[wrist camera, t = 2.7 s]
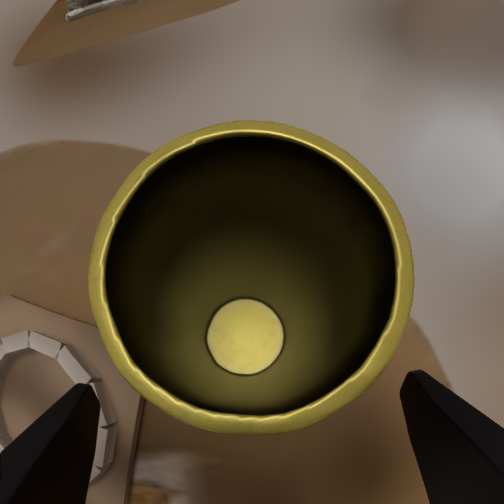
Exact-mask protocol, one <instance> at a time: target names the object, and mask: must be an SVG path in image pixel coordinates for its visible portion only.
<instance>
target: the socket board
mask: <svg viewBox="0 0 504 504" xmlns="http://www.w3.org/2000/svg"><path fill="white" fill-rule="evenodd" d="M77 383H85V384H90V385H91V386H92V387H93V389H94V391H95V393H96V396H97V398H98V399H99V402H100V406H101V409H100V417H99V425H98V434H97V443H96V452H95V457H94V462H93V467H92V472H91V477H90V482H89V487H88V493H87V498H86V504H128V500H129V493H130V485H131V478H132V471H133V464H134V457H135V451H136V444H137V438H138V432H139V427H140V421H141V415H142V410H143V405H144V399H145V398H144V397H143V396H141V395H140V394H139V393H138V392H137V391H135V390H134V389H133V388H132V387H131V386H130V384H129V383H128V382H127V381H126V380H125V379H124V378H123V377H122V376H121V374H120V373H119V372H118V370H117V368H116V367H115V365H114V363H113V361H112V360H111V358H110V356H109V354H108V353H107V350H106V348H105V345H104V343H103V340H102V338H101V335H100V333H99V330H98V327H94V326H91V325H88V324H85V323H82V322H79V321H76V320H73V319H70V318H67V317H64V316H62V315H59V314H56V313H53V312H50V311H48V310H45V309H42V308H40V307H37V306H34V305H32V304H29V303H27V302H24V301H21V300H19V299H16V298H14V297H12V296H9V295H7V294H4V293H1V297H0V453H1V451H2V450H3V449H4V448H6V447H7V446H8V445H9V444H10V443H11V442H12V441H13V440H14V439H15V438H16V437H18V436H19V435H20V434H21V433H22V432H23V431H24V430H25V429H26V428H27V427H29V426H30V425H31V424H32V423H33V422H34V421H35V420H36V419H37V418H38V417H40V416H41V415H42V414H43V413H44V412H45V411H46V410H47V409H48V408H50V407H51V406H52V405H53V404H54V403H55V402H56V401H57V400H59V399H60V398H61V397H62V396H63V395H64V394H65V393H66V392H67V391H69V390H70V389H71V388H72V387H73V386H74V385H75V384H77Z"/></svg>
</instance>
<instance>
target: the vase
mask: <svg viewBox="0 0 504 504" xmlns="http://www.w3.org/2000/svg"><path fill="white" fill-rule="evenodd" d="M413 293H414V263H413V257H412V250H411V244H410V240H409V237H408V234H407V230H406V227H405V225H404V222H403V219H402V217H401V214H400V212H399V210H398V208H397V206H396V204H395V202H394V200H393V199H392V197H391V196H390V194H389V193H388V192H387V190H386V189H385V188H384V187H383V186H382V184H381V183H380V182H379V181H378V180H377V179H376V178H375V177H374V176H373V175H372V173H370V171H369V170H368V169H367V168H365V167H364V166H363V165H362V164H361V163H360V162H359V161H358V160H357V159H355V158H354V157H353V156H351V155H350V154H349V153H348V152H346V151H345V150H343V149H341V148H340V147H338V146H336V145H335V144H333V143H331V142H329V141H327V140H325V139H323V138H321V137H319V136H317V135H315V134H312V133H309V132H307V131H305V130H302V129H299V128H296V127H293V126H289V125H285V124H281V123H274V122H267V121H232V122H226V123H221V124H216V125H212V126H209V127H206V128H203V129H200V130H197V131H194V132H191V133H188V134H185V135H183V136H180V137H178V138H176V139H174V140H172V141H170V142H168V143H166V144H165V145H163V146H162V147H160V148H159V149H157V150H156V151H154V152H153V153H152V154H151V155H149V156H148V157H147V158H146V159H144V160H143V161H142V162H141V163H140V164H139V165H138V166H137V167H136V168H135V169H134V170H133V171H132V172H131V173H130V174H129V176H128V177H127V179H126V180H125V181H124V183H123V184H122V186H121V187H120V189H119V190H118V192H117V193H116V195H115V196H114V198H113V199H112V201H111V202H110V204H109V206H108V207H107V209H106V211H105V213H104V215H103V216H102V218H101V221H100V223H99V226H98V228H97V231H96V234H95V238H94V242H93V247H92V252H91V257H90V263H89V271H88V295H89V301H90V305H91V309H92V313H93V316H94V319H95V322H96V325H97V327H98V330H99V333H100V335H101V338H102V340H103V343H104V345H105V348H106V350H107V353H108V354H109V356H110V358H111V360H112V361H113V363H114V365H115V367H116V368H117V370H118V372H119V373H120V374H121V376H122V377H123V378H124V379H125V380H126V381H127V382H128V383H129V384H130V386H131V387H132V388H133V389H134V390H135V391H137V392H138V393H139V394H140V395H141V396H143V397H144V398H145V399H146V400H147V401H149V402H150V403H151V404H153V405H154V406H156V407H157V408H159V409H161V410H162V411H164V412H165V413H167V414H168V415H170V416H172V417H174V418H176V419H178V420H180V421H182V422H185V423H187V424H189V425H191V426H194V427H197V428H201V429H204V430H208V431H211V432H218V433H229V434H249V435H265V434H281V433H286V432H291V431H295V430H299V429H303V428H306V427H308V426H310V425H312V424H314V423H316V422H318V421H320V420H322V419H324V418H326V417H328V416H329V415H331V414H333V413H334V412H336V411H338V410H339V409H341V408H342V407H344V406H346V405H347V404H349V403H350V402H352V401H353V400H354V399H356V398H357V397H359V396H360V395H362V394H363V393H364V392H366V391H367V390H368V389H369V388H370V387H371V386H372V384H373V383H374V382H375V381H376V379H377V378H378V377H379V376H380V374H381V373H382V372H383V370H384V369H385V367H386V366H387V365H388V363H389V362H390V361H391V359H392V358H393V356H394V355H395V353H396V351H397V349H398V346H399V343H400V341H401V338H402V336H403V333H404V331H405V328H406V325H407V322H408V319H409V315H410V311H411V306H412V302H413Z"/></svg>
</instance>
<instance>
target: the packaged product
mask: <svg viewBox="0 0 504 504" xmlns="http://www.w3.org/2000/svg"><path fill="white" fill-rule="evenodd" d="M138 1H142V0H66V3H67V5H68V9H69V11H68V13H67V14H66V20H67V22H69V21H71V20H74V19H77V18H80V17H83V16H86V15H89V14H92V13H96V12H99V11H103V10H106V9H110V8H114V7H117V6H121V5H125V4H129V3H134V2H138Z"/></svg>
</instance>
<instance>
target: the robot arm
mask: <svg viewBox="0 0 504 504" xmlns="http://www.w3.org/2000/svg"><path fill="white" fill-rule="evenodd" d="M400 399H401V403H402V407H403V412H404V416H405V420H406V425H407V429H408V434H409V438H410V441H411V444H412V447H413V450H414V453H415V456H416V460H417V463H418V466H419V469H420V472H421V475H422V479H423V482H424V485H425V488H426V492H427V495H428V499H429V502H430V504H504V428H503V427H501V426H500V425H498V424H497V423H495V422H494V421H493V420H491V419H490V418H489V417H487V416H486V415H484V414H483V413H481V412H480V411H479V410H477V409H476V408H475V407H473V406H472V405H470V404H469V403H468V402H466V401H465V400H464V399H462V398H461V397H459V396H458V395H457V394H455V393H454V392H452V391H451V390H450V389H448V388H447V387H445V386H444V385H443V384H441V383H440V382H438V381H437V380H436V379H434V378H433V377H431V376H430V375H429V374H427V373H426V372H424V371H423V370H420V369H419V370H414V371H410V372H408V373H407V375H406V377H405V380H404V382H403V384H402V387H401V389H400ZM100 409H101V406H100V402H99V399H98V398H97V396H96V393H95V391H94V389H93V387H92V386H91V385H90V384H85V383H77V384H75V385H74V386H73V387H72V388H71V389H70V390H69V391H67V392H66V393H65V394H64V395H63V396H62V397H61V398H60V399H59V400H57V401H56V402H55V403H54V404H53V405H52V406H51V407H50V408H48V409H47V410H46V411H45V412H44V413H43V414H42V415H41V416H40V417H38V418H37V419H36V420H35V421H34V422H33V423H32V424H31V425H30V426H29V427H27V428H26V429H25V430H24V431H23V432H22V433H21V434H20V435H19V436H18V437H16V438H15V439H14V440H13V441H12V442H11V443H10V444H9V445H8V446H7V447H6V448H4V449H3V450H2V451H1V453H0V504H86V498H87V493H88V487H89V482H90V477H91V472H92V467H93V462H94V457H95V452H96V443H97V434H98V425H99V417H100Z"/></svg>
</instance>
